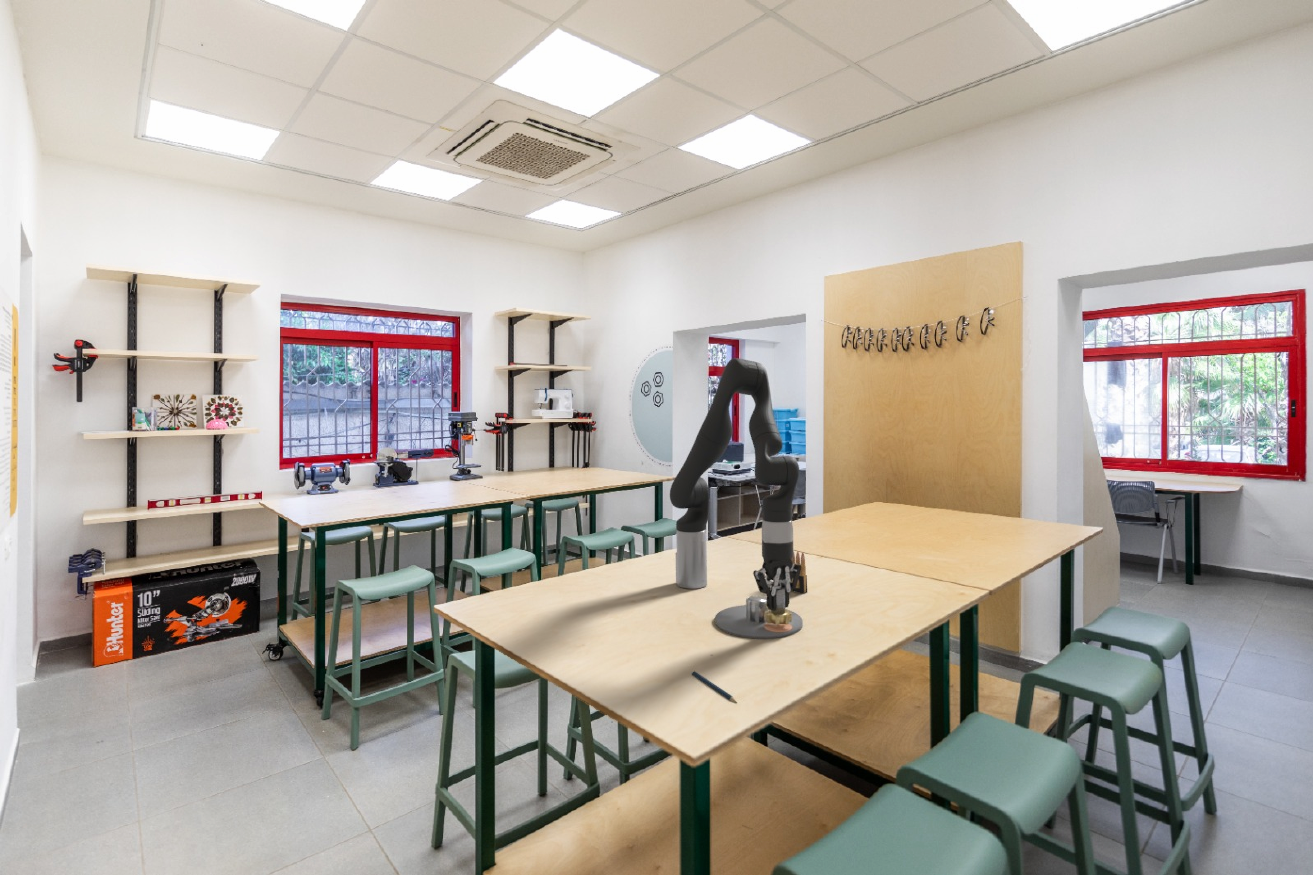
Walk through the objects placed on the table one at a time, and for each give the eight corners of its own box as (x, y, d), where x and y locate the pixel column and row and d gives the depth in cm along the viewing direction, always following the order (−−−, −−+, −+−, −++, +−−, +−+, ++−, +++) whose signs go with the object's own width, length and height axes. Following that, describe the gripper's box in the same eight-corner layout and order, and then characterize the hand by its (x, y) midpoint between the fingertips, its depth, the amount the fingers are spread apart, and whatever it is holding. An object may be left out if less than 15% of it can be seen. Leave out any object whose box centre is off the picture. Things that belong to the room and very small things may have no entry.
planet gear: (759, 619, 156) (759, 587, 155) (779, 614, 159) (779, 583, 159) (777, 627, 150) (776, 593, 150) (797, 621, 154) (797, 589, 153)
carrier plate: (698, 618, 165) (698, 595, 165) (764, 603, 176) (764, 582, 176) (751, 645, 146) (751, 620, 146) (821, 627, 157) (821, 603, 157)
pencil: (695, 675, 132) (739, 704, 119) (691, 676, 132) (734, 705, 119) (695, 671, 132) (739, 699, 119) (691, 672, 132) (735, 701, 119)
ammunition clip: (807, 592, 186) (807, 552, 185) (803, 593, 184) (803, 553, 184) (777, 585, 194) (777, 546, 193) (774, 586, 192) (773, 547, 192)
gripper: (789, 532, 160) (789, 599, 161) (744, 539, 153) (745, 609, 154) (810, 537, 154) (810, 607, 155) (764, 545, 147) (765, 618, 148)
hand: (778, 607), depth 155 cm, fingers closed on planet gear, 3 cm apart
